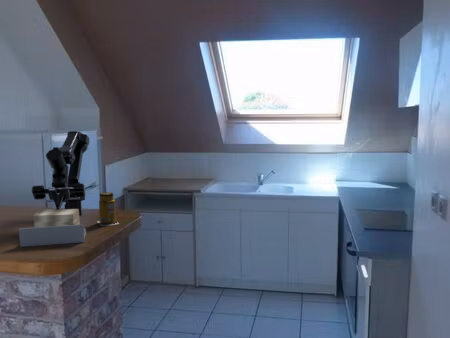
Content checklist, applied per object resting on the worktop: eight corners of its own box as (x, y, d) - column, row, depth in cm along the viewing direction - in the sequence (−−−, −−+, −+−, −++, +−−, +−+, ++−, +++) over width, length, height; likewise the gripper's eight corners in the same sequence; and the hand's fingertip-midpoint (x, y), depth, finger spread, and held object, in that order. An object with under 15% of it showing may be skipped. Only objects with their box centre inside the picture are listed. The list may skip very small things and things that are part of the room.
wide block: (80, 229, 166) (78, 208, 165) (74, 235, 159) (72, 214, 158) (42, 230, 166) (40, 209, 164) (35, 236, 159) (33, 215, 157)
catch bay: (27, 237, 158) (26, 221, 157) (87, 233, 162) (86, 217, 161) (20, 246, 147) (18, 229, 146) (84, 242, 151) (83, 224, 151)
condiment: (114, 219, 182) (113, 191, 181) (119, 224, 175) (118, 194, 173) (96, 222, 179) (95, 192, 177) (100, 226, 171) (99, 196, 170)
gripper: (87, 187, 182) (86, 219, 173) (38, 189, 178) (35, 222, 169) (84, 170, 173) (83, 203, 164) (33, 172, 170) (29, 206, 160)
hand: (57, 209), depth 165 cm, fingers closed
